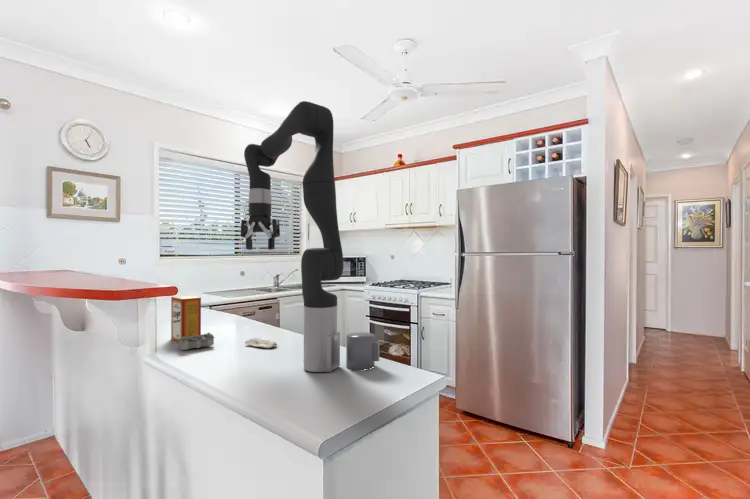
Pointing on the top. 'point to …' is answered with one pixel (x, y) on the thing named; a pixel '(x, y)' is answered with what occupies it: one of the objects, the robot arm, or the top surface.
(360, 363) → the charcoal mug
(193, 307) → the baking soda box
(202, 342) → the egg carton
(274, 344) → the pale elongated rock
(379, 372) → the top surface
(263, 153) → the robot arm
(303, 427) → the top surface
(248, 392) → the top surface
